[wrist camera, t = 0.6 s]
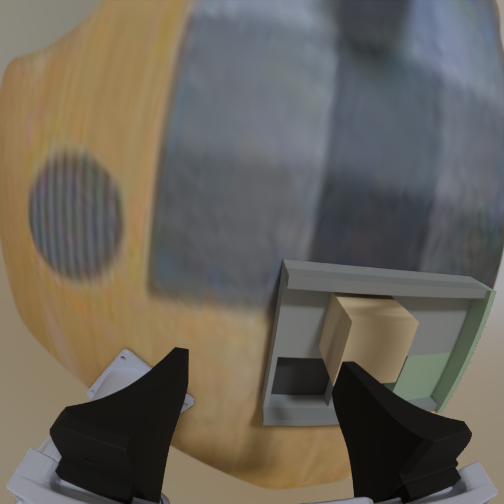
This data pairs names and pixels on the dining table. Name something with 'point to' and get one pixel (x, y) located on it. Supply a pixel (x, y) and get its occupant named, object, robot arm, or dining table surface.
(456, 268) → the dining table surface
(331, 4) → the dining table surface
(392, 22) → the dining table surface
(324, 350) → the beech cube
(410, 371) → the box
